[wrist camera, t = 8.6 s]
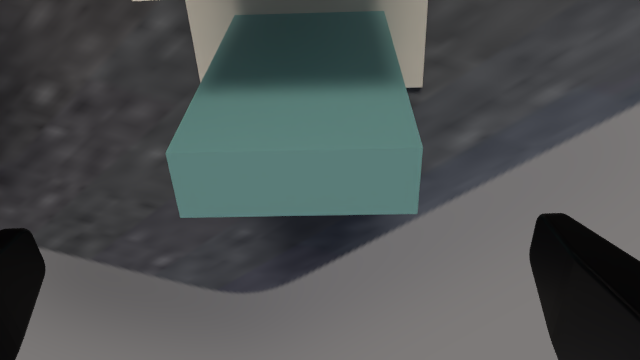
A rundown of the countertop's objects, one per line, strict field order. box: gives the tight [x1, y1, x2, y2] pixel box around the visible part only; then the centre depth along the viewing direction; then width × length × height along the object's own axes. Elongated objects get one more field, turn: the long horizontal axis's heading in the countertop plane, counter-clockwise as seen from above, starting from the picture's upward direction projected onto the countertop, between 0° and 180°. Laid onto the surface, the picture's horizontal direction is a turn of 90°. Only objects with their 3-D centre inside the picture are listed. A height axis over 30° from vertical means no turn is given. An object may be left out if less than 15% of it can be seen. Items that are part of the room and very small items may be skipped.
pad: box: [185, 0, 428, 88], centre depth 18 cm, size 8×4×1 cm, turn 93°
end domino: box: [166, 11, 423, 218], centre depth 15 cm, size 2×5×9 cm, turn 92°
